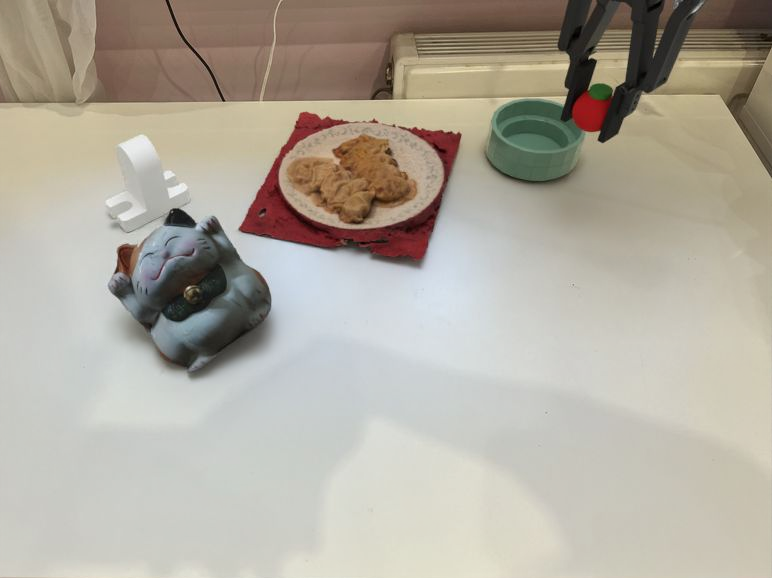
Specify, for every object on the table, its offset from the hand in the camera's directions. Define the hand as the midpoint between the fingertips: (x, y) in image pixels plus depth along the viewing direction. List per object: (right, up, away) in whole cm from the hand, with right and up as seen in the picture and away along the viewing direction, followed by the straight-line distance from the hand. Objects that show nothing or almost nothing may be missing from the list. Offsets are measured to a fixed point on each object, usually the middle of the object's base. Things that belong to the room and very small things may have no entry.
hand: (588, 126), depth 78 cm
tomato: (0, 0, 0) cm, 0 cm away
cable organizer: (-53, -6, +14) cm, 55 cm away
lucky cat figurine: (-44, -23, +1) cm, 50 cm away
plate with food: (-25, -3, +15) cm, 30 cm away
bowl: (-1, +1, +17) cm, 17 cm away
